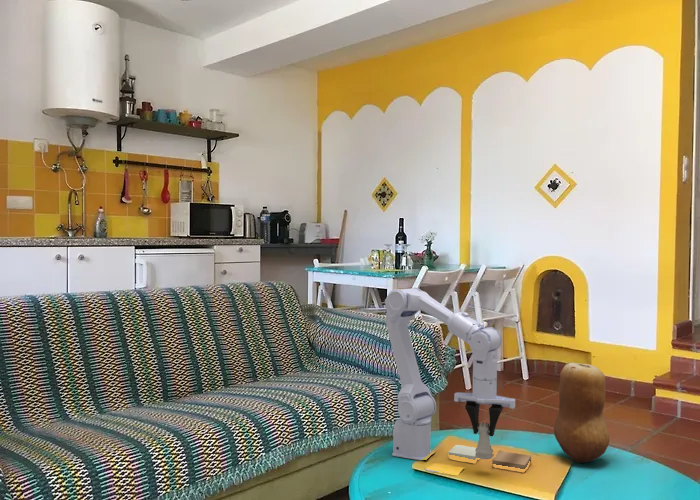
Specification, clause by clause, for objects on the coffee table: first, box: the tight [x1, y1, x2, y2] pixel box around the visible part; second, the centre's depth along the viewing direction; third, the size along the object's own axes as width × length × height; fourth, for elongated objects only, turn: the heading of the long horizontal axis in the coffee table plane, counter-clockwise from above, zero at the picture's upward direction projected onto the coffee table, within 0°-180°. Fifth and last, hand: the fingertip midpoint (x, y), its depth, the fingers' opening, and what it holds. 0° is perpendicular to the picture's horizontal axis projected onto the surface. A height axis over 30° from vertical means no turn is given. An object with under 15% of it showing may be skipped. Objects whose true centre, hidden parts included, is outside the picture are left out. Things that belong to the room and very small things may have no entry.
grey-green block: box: [447, 444, 477, 460], centre depth 160 cm, size 7×7×2 cm
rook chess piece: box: [475, 421, 495, 460], centre depth 149 cm, size 4×4×8 cm
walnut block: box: [491, 450, 532, 469], centre depth 155 cm, size 8×8×2 cm
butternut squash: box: [553, 362, 610, 464], centre depth 160 cm, size 14×13×25 cm
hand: (483, 434), depth 149 cm, fingers closed on rook chess piece, 3 cm apart
